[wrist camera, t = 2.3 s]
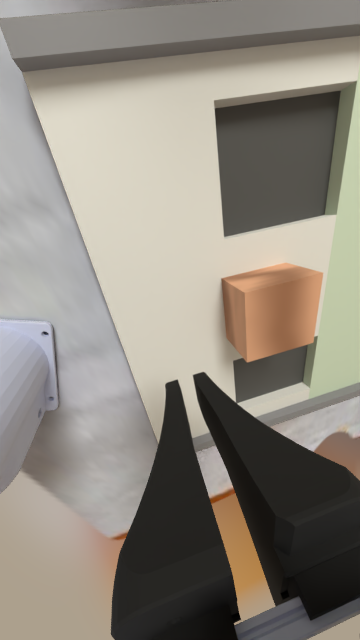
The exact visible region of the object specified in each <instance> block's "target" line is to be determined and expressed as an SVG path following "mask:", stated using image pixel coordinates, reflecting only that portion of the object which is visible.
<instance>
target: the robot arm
mask: <svg viewBox="0 0 360 640" xmlns="http://www.w3.org/2000/svg"><path fill="white" fill-rule="evenodd" d="M44 331H45V332H47V333H48V334H49V335H45V334H44V333H43V332H44ZM193 380H194V385H195V390H196V395H197V400H198V404H199V407H200V410H201V412H202V415H203V418H204V421H205V423H206V425H207V427H208V429H209V431H210V434H211V436H212V438H213V440H214V442H215V444H216V447H217V449H218V451H219V453H220V455H221V457H222V459H223V462H224V464H225V466H226V469H227V471H228V474H229V477H230V479H231V482H232V485H233V487H234V490H235V493H236V496H237V498H238V501H239V504H240V507H241V509H242V512H243V515H244V518H245V520H246V523H247V526H248V529H249V531H250V534H251V537H252V540H253V543H254V546H255V548H256V551H257V554H258V557H259V560H260V563H261V565H262V569H263V571H264V575H265V577H266V580H267V583H268V586H269V589H270V592H271V595H272V597H273V600H274V603H275V605H276V607H274V608H272V609H269V610H267V611H265V612H263V613H261V614H259V615H257V616H255V617H252V618H250V619H248V620H245V621H243V622H241V623H239V624H237V625H234V623H235V622H237V621H239V620H241V618H240V615H239V611H238V606H237V597H236V591H235V586H234V580H233V575H232V572H231V568H230V564H229V561H228V558H227V554H226V551H225V547H224V544H223V541H222V538H221V534H220V531H219V528H218V525H217V522H216V518H215V515H214V512H213V509H212V505H211V502H210V499H209V496H208V492H207V489H206V486H205V483H204V479H203V476H202V473H201V469H200V466H199V463H198V459H197V456H196V453H195V450H194V445H193V440H192V435H191V430H190V425H189V421H188V416H187V412H186V408H185V404H184V399H183V395H182V391H181V388H180V385H179V382H178V379H177V380H174V381H171V382H167V383H166V384H165V389H166V399H165V410H164V418H163V424H162V430H161V435H160V440H159V444H158V449H157V452H156V456H155V460H154V463H153V467H152V470H151V473H150V477H149V480H148V483H147V486H146V488H145V491H144V494H143V497H142V499H141V502H140V505H139V508H138V510H137V513H136V515H135V518H134V520H133V523H132V525H131V527H130V530H129V532H128V534H127V537H126V539H125V541H124V544H123V546H122V548H121V551H120V554H119V559H118V564H117V569H116V574H115V581H114V589H113V597H112V619H111V635H112V637H113V638H114V639H115V640H307V639H309V638H311V637H313V636H315V635H317V634H319V633H321V632H323V631H325V630H327V629H329V628H331V627H334V626H336V625H338V624H340V623H342V622H344V621H346V620H348V619H350V618H352V617H354V616H356V615H358V614H360V481H359V480H358V479H357V478H356V477H355V476H354V475H353V474H352V473H351V472H350V471H349V470H348V469H347V468H346V467H344V466H342V465H339V464H337V463H335V462H333V461H331V460H329V459H326V458H324V457H322V456H320V455H318V454H316V453H314V452H312V451H310V450H308V449H307V448H305V447H303V446H301V445H299V444H297V443H295V442H294V441H292V440H290V439H288V438H287V437H285V436H283V435H282V434H280V433H278V432H276V431H275V430H273V429H272V428H270V427H269V426H267V425H265V424H264V423H262V422H261V421H260V420H258V419H257V418H255V417H254V416H252V415H251V414H250V413H248V412H247V411H246V410H245V409H243V408H242V407H241V406H240V405H238V404H237V403H236V402H235V401H233V400H232V399H231V398H230V397H229V396H228V395H227V394H226V393H224V392H223V391H222V390H221V389H220V388H219V387H218V386H217V385H216V384H215V383H214V382H213V381H212V380H211V379H210V377H209V376H208V375H207V374H206V373H205V372H201V373H197V374H194V375H193ZM51 397H53V398H51ZM58 405H59V401H58V388H57V375H56V363H55V350H54V337H53V327H52V325H51V323H49V322H46V321H27V320H7V319H0V494H1V492H3V491H4V490H5V489H6V488H7V486H9V484H10V483H11V482H12V481H13V479H14V478H15V477H16V475H17V474H18V472H19V471H20V469H21V467H22V464H23V462H24V460H25V457H26V455H27V453H28V450H29V448H30V446H31V443H32V441H33V439H34V436H35V434H36V432H37V429H38V427H39V425H40V422H41V420H42V418H43V415H44V413H45V411H48V410H55V409H57V408H58Z"/></svg>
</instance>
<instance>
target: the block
mask: <svg viewBox="0 0 360 640" xmlns="http://www.w3.org/2000/svg"><path fill="white" fill-rule="evenodd" d="M322 279H323V272H319V271H315V270H312V269H308V268H304V267H301V266H297V265H293V264H290V263H282V264H278V265H274V266H269V267H265V268H261V269H257V270H253V271H249V272H245V273H241V274H237V275H233V276H229V277H225V278H221V281H222V292H223V304H224V315H225V327H226V338H227V339H228V340H229V342H230V343H231V344H232V345H233V346H234V348H235V349H236V350H237V351H238V352H239V354H240V355H241V356H242V357H243V358H244V360H245V361H246V362H251V361H254V360H257V359H261V358H264V357H267V356H271V355H274V354H277V353H281V352H284V351H287V350H291V349H294V348H297V347H301V346H304V345H307V344H311V343H313V342H314V335H315V328H316V321H317V314H318V307H319V300H320V293H321V286H322Z"/></svg>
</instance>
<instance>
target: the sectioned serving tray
mask: <svg viewBox="0 0 360 640" xmlns="http://www.w3.org/2000/svg"><path fill="white" fill-rule="evenodd" d="M0 27H1V29H2V32H3V35H4V38H5V40H6V43H7V46H8V48H9V51H10V54H11V56H12V59H13V60H14V62H15V63H16V64H17V66H18V67H19V69H20V70H21V71H22V73H23V76H24V79H25V82H26V84H27V87H28V90H29V92H30V95H31V98H32V101H33V103H34V106H35V109H36V112H37V114H38V117H39V120H40V123H41V125H42V128H43V131H44V133H45V136H46V139H47V142H48V144H49V147H50V150H51V153H52V155H53V158H54V161H55V163H56V166H57V169H58V172H59V174H60V177H61V180H62V183H63V185H64V188H65V191H66V193H67V196H68V199H69V202H70V204H71V207H72V210H73V213H74V215H75V218H76V221H77V223H78V226H79V229H80V232H81V234H82V237H83V240H84V243H85V245H86V248H87V251H88V253H89V256H90V259H91V262H92V264H93V267H94V270H95V273H96V275H97V278H98V281H99V283H100V286H101V289H102V292H103V294H104V297H105V300H106V303H107V305H108V308H109V311H110V313H111V316H112V319H113V322H114V324H115V327H116V330H117V333H118V335H119V338H120V341H121V343H122V346H123V349H124V352H125V354H126V357H127V360H128V363H129V365H130V368H131V371H132V374H133V376H134V379H135V382H136V384H137V387H138V390H139V393H140V395H141V398H142V401H143V404H144V406H145V409H146V412H147V414H148V417H149V420H150V423H151V425H152V428H153V431H154V434H155V436H156V439H157V442H158V444H159V440H160V435H161V430H162V424H163V418H164V410H165V399H166V389H165V384H166V383H167V382H171V381H174V380H177V379H178V382H179V385H180V388H181V391H182V395H183V399H184V404H185V408H186V412H187V416H188V421H189V425H190V430H191V435H192V440H193V445H194V450H195V452H197V451H200V450H203V449H206V448H209V447H212V446H215V445H216V444H215V442H214V440H213V438H212V436H211V434H210V431H209V429H208V427H207V425H206V423H205V421H204V418H203V415H202V412H201V410H200V407H199V404H198V400H197V395H196V390H195V385H194V380H193V375H194V374H197V373H201V372H205V373H206V374H207V375H208V376H209V377H210V379H211V380H212V381H213V382H214V383H215V384H216V385H217V386H218V387H219V388H220V389H221V390H222V391H223V392H224V393H226V394H227V395H228V396H229V397H230V398H231V399H232V400H233V401H235V402H236V403H237V404H238V405H240V406H241V407H242V408H243V409H245V410H246V411H247V412H248V413H250V414H251V415H252V416H254V417H255V418H257V419H258V420H260V421H261V422H262V423H264V424H265V425H267V426H269V427H270V426H273V425H276V424H279V423H282V422H284V421H287V420H290V419H293V418H296V417H299V416H302V415H305V414H308V413H311V412H314V411H316V410H319V409H322V408H325V407H328V406H331V405H334V404H337V403H340V402H343V401H345V400H348V399H351V398H354V397H357V396H360V0H229V1H216V2H203V3H190V4H177V5H165V6H152V7H139V8H126V9H113V10H101V11H88V12H75V13H62V14H49V15H37V16H24V17H11V18H0ZM282 263H290V264H293V265H297V266H301V267H304V268H308V269H312V270H315V271H319V272H323V279H322V286H321V293H320V300H319V307H318V314H317V321H316V328H315V335H314V342H313V343H311V344H307V345H304V346H301V347H297V348H294V349H291V350H287V351H284V352H281V353H277V354H274V355H271V356H267V357H264V358H261V359H257V360H254V361H251V362H246V361H245V360H244V358H243V357H242V356H241V355H240V354H239V352H238V351H237V350H236V349H235V348H234V346H233V345H232V344H231V343H230V342H229V340H228V339H227V338H226V327H225V315H224V304H223V292H222V281H221V278H225V277H229V276H233V275H237V274H241V273H245V272H249V271H253V270H257V269H261V268H265V267H269V266H274V265H278V264H282Z"/></svg>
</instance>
